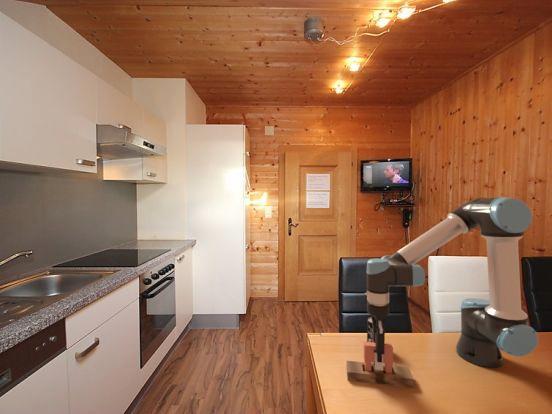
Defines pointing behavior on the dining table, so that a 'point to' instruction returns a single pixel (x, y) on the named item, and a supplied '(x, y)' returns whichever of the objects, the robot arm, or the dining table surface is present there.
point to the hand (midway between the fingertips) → (378, 366)
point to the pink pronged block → (370, 356)
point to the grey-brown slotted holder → (380, 374)
